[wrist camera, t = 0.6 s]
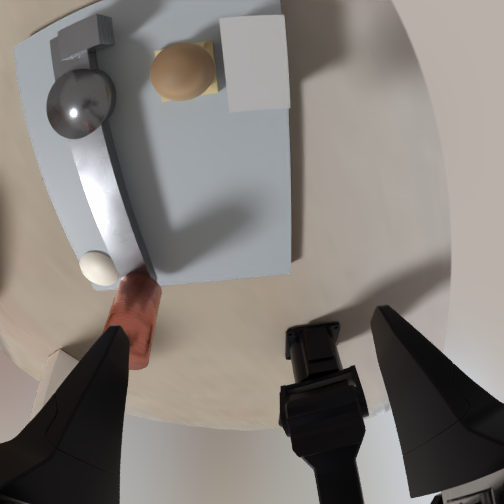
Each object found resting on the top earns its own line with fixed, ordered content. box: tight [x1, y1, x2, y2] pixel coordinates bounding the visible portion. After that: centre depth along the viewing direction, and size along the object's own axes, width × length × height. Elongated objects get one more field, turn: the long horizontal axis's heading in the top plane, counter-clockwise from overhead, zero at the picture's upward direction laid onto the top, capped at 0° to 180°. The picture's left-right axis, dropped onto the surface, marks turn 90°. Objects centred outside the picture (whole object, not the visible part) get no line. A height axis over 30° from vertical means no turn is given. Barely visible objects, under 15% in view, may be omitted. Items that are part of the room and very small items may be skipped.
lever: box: [46, 13, 162, 370], centre depth 14 cm, size 5×22×8 cm, turn 5°
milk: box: [29, 349, 79, 422], centre depth 28 cm, size 6×6×22 cm
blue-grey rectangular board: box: [14, 0, 291, 291], centre depth 16 cm, size 24×19×5 cm
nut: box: [150, 42, 215, 101], centre depth 12 cm, size 4×4×4 cm
